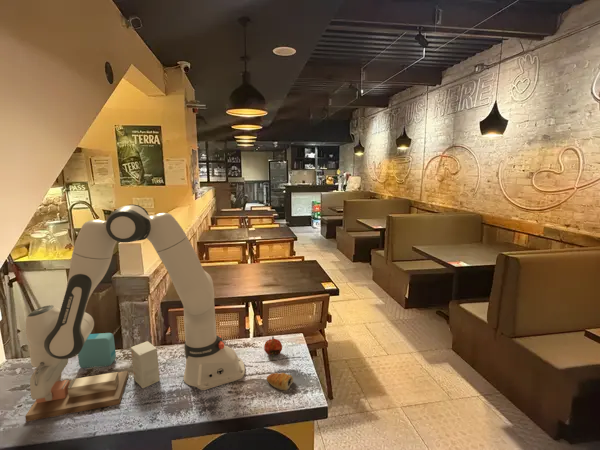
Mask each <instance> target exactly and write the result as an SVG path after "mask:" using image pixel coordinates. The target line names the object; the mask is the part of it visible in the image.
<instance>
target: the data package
mask: <svg viewBox="0 0 600 450" xmlns="http://www.w3.org/2000/svg"><path fill="white" fill-rule="evenodd" d="M116 352H117V351H116V346H115V336H114V334H113V333H111V332H105V333H104V332H103V333H101V332H100V333H90V335H89V337H88V338H87V340H86V341H85V343H84V345H83V347H82V349H81V351H80V352H79V353H78V354H77V359H78V364H79V367H80V368H83V369H87V368H102V367H109V366H111V365H112V364H113V363H114V361H115V359H116V358H117V354H116Z"/></svg>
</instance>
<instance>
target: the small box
mask: <svg viewBox="0 0 600 450" xmlns="http://www.w3.org/2000/svg"><path fill="white" fill-rule="evenodd" d="M130 350H131V351H130V352H131V362H132V373H133V380H134V381H135V382H136V383H137V384H138V385H139V386H140V388H142V389H146V388H148V387H149V386H151V385H153V384H156V383H157V382H159V381H160V379H161V378H160V377H161V376H160V369H159V368H160V367H159V358H158V356H159V355H158V349H157V347H156V346H154V345H153V344H152V343H151V342H149V340H146V341H145V342H141V343H139V344H136V345H134V346H131V347H130Z"/></svg>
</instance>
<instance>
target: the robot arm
mask: <svg viewBox="0 0 600 450" xmlns="http://www.w3.org/2000/svg"><path fill="white" fill-rule="evenodd" d="M145 240H148V241H149V243H150V244H151V245H152V246H153V249H154V250H155V252H156V254H157V255H158V257H159V259H160V261H161V262H162V264H163V266H164V268H165V270H166V271H167V273H168V276H169V278H170V280H171V282H172V285H173V287H174V289H175V291H176V294H177V295H178V297H179V299H180V301H181V303H182V306H183V323H184V324H183V327H184V338H185V340H184V345H183V347H184V348H183V350H184V357H185V368H184V374H183V381H184V383H185V384H186V385H188V386H190V387H194V388H197V389H199V390H200V391H205V390H209V389H212V388H216V387H218V386H221V385H225V384H229V383H231V382H235V381H239V380H242V379H243V378H244V377H245V373H246V368H245V367H246V365H245V364H244V363H245V362H244V361H243V360H242V358H240V357H239V356H238V354H237V352H236V351H235V350H234V348H232V347H230V346H228V345H225V343H224V341H223V338H222V336H221V334H219V336H218V335H217V321H216V319H217V318H216V309H215V308H216V306H215V288H214V286H215V285H214V281H213V278H212V276H211V274H210V273H208V272H207V271H206V270H204V267H203V266H202V263H201V261H200V259H199V256H198V254H197V252H196V250H195V249H194V247H193V245H192V243H191V242H190V239H189V237H188V235H187V234H186V232H185V231H184V229H183V228H182V226H181V225H180V223H179V222H178V221H177V220H176V218H175V217H174V216H173V215H172V214H171V213H168V212H159V213H156V214H153V215H150V214H149V212H148V211H147V210H146V208H144V207H143V206H141V205H138V204H127V205H123V206H120V207H118V208H116V209H115V210H114V211H112V212H111V213H110V214H109V215H108V217H107V219H106V220H102V219H89V220H88V221H86V222H84V223H83V224H82V225H81V228H80V230H79V232H78V234H77V237H76V240H75V241H74V245H73V250H72V254H71V260H70V265H69V272H68V279H67V284H66V290H65V292H64V295H63V300H62V303H61V307H60V308H59V307H57V306H56V305H52V304H51V305H45V306H41V307H39V308H36V309H34V310H33V311H31V312H30V313H29V314H28V315H27V316H26V318H25V334H26V340H27V341H28V343H29V349H28V353H29V356H30V357H29V358H30V364H31V367H33V368H35V370H34V371H33V372H32V374H31V377H30V380H29V387H30V396H31V399H32V400H36V399H41V398H45V400H46V401H50V400H52V398H53V393H51V388H52V387H53V385H54V384H55V382H57V381H62V374H63V372H64V370H65V369H66V367H67V365H68V364H69V363H68V362H69V359H71V358H75V357H77V356H78V353H79V352H80V351H81V349H82V347H83V345H84V343H85V341H86V340H87V338H88V337H89V335H90V334H92V332H93V329H94V327H95V319H94V317H93V316H92V315H91V314H90V313H89V312H86V309H87V306H88V302H89V300H90V298H91V296H92V294H93V292H94V290H95V289H96V288H97V286H98V285H99V284H100V283H101V281H102V280H103V279H104V277H105V275H106V274H107V272H108V270H109V267H110V265H111V262H112V258H113V253H114V249H115V247H116V244H117V242H118V243H133V242H138V241H145Z"/></svg>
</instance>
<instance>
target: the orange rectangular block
mask: <svg viewBox="0 0 600 450" xmlns="http://www.w3.org/2000/svg"><path fill="white" fill-rule="evenodd" d="M69 380H70V379H64V380H61V381H57V382H55V384H54V385H53V387H52V388H51V393H53V398H52V400H57V399H63V398H65V397H66V396H67V394H68V387H69V385H70V382H69ZM52 400H50V401H52ZM35 401H36V402H37V403H40V402H46V400H45V398H41V399H35Z"/></svg>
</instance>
